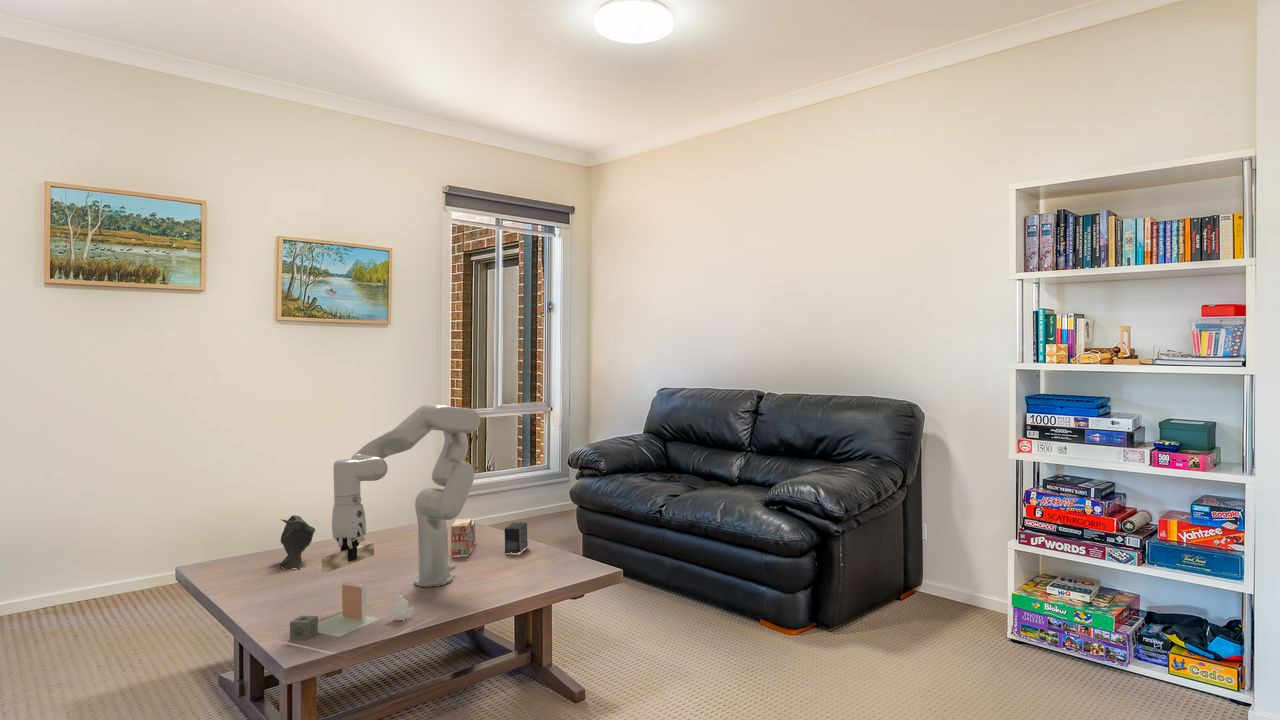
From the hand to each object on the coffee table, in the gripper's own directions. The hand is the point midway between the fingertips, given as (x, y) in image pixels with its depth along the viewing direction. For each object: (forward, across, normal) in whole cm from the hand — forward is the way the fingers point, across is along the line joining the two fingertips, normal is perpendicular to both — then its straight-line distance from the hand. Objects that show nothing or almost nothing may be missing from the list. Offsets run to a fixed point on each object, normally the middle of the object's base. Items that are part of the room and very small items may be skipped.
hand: (349, 559), depth 222 cm
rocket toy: (+15, -24, +4) cm, 28 cm away
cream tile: (+14, -11, +9) cm, 20 cm away
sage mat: (+14, -11, +13) cm, 22 cm away
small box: (+16, -10, -73) cm, 76 cm away
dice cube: (+14, -8, +24) cm, 29 cm away
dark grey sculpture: (+15, +57, -27) cm, 65 cm away
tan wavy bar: (+1, 0, 0) cm, 1 cm away
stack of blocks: (+16, +11, -67) cm, 70 cm away
